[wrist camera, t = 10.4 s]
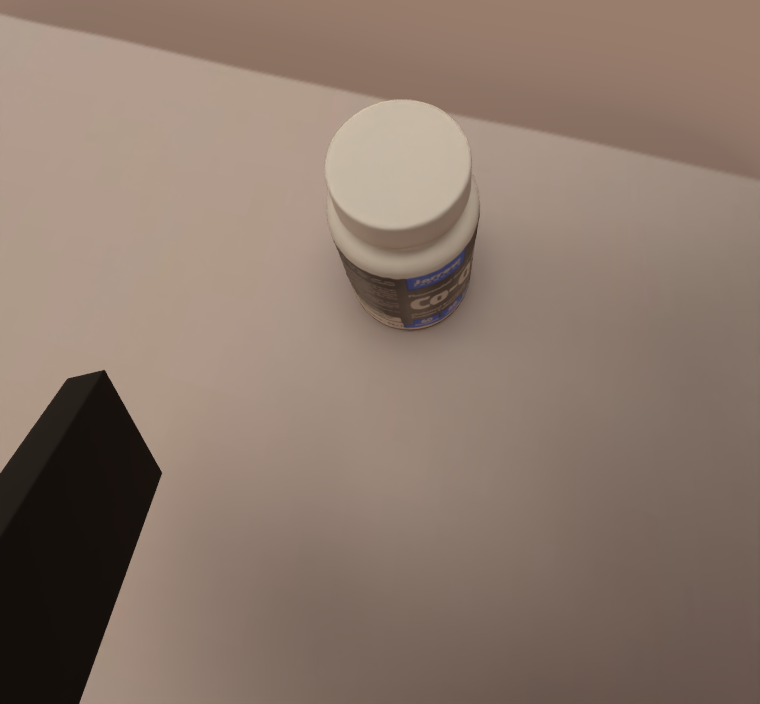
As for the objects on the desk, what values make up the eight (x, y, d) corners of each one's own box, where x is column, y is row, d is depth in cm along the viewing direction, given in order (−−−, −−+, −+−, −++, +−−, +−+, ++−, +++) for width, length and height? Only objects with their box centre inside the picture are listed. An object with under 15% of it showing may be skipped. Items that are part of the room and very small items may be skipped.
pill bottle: (429, 354, 23) (422, 277, 15) (331, 293, 24) (274, 190, 16) (492, 257, 23) (520, 132, 15) (395, 202, 24) (372, 57, 16)
